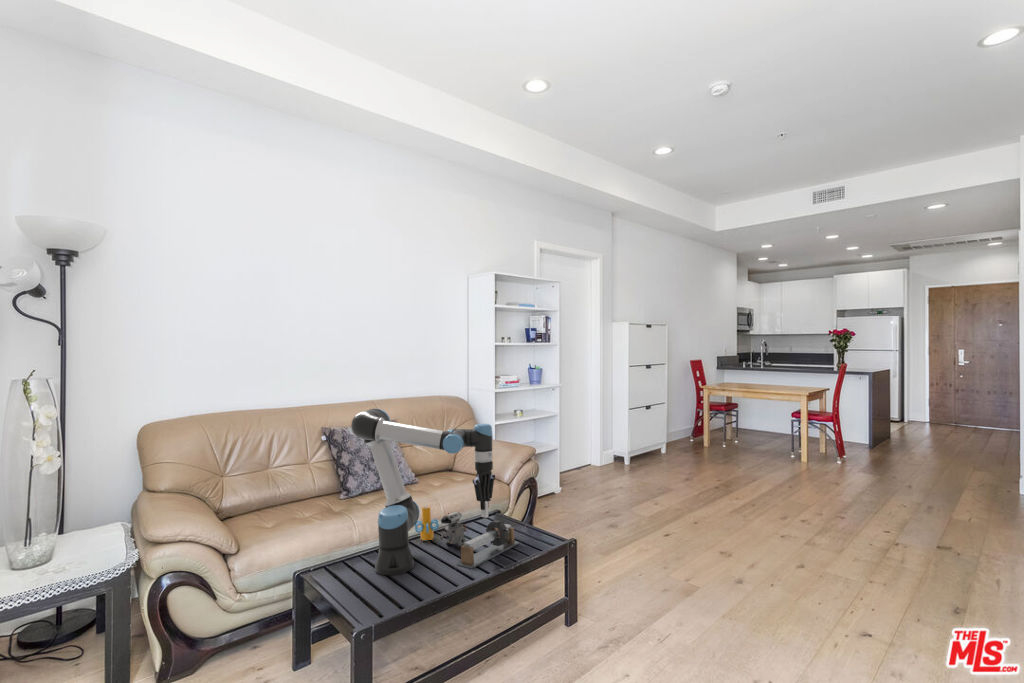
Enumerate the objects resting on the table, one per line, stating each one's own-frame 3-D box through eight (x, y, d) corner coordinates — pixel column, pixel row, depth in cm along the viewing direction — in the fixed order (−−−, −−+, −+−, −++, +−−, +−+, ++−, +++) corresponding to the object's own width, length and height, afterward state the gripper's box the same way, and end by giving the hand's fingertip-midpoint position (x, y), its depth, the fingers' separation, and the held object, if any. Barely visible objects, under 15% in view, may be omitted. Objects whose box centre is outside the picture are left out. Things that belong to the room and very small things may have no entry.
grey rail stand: (472, 568, 203) (471, 546, 204) (456, 564, 208) (456, 543, 208) (518, 543, 229) (517, 524, 230) (504, 540, 234) (503, 521, 234)
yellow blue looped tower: (409, 543, 237) (408, 509, 238) (420, 535, 247) (419, 503, 248) (434, 544, 233) (432, 510, 234) (443, 536, 243) (442, 504, 244)
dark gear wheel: (505, 547, 220) (504, 523, 220) (486, 543, 225) (485, 520, 226) (508, 545, 221) (507, 522, 222) (490, 542, 227) (489, 519, 228)
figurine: (436, 549, 227) (434, 515, 227) (455, 542, 235) (454, 508, 236) (449, 553, 221) (448, 518, 221) (469, 546, 229) (467, 511, 230)
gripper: (480, 464, 212) (481, 522, 211) (500, 459, 223) (501, 514, 222) (467, 462, 217) (467, 519, 215) (486, 457, 227) (487, 511, 226)
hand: (484, 516), depth 219 cm, fingers closed
